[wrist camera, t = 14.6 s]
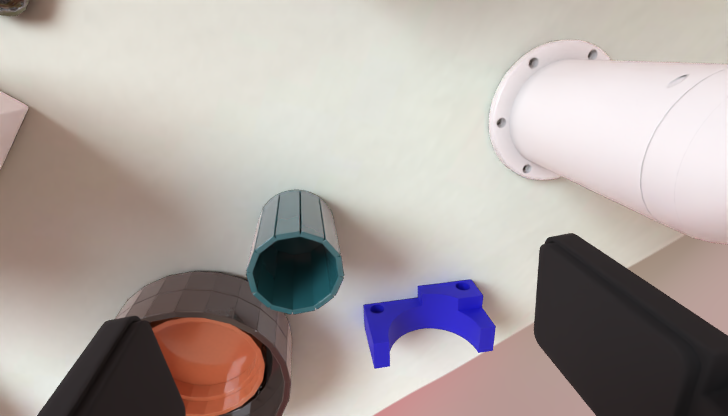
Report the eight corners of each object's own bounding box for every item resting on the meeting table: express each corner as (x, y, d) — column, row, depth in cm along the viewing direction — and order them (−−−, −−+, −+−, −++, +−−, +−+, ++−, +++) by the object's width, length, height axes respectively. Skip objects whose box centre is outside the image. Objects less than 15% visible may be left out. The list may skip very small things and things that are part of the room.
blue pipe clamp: (471, 279, 42) (497, 313, 36) (468, 312, 44) (492, 350, 38) (362, 292, 40) (373, 331, 35) (364, 327, 42) (374, 368, 37)
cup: (327, 184, 35) (336, 224, 27) (337, 249, 38) (348, 304, 30) (251, 196, 34) (237, 241, 26) (267, 261, 37) (258, 321, 29)
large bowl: (273, 255, 37) (269, 294, 31) (303, 384, 44) (304, 437, 38) (86, 287, 35) (43, 335, 29) (147, 417, 42) (123, 477, 36)
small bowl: (253, 281, 38) (248, 306, 34) (277, 373, 43) (275, 403, 39) (124, 304, 36) (104, 332, 33) (164, 396, 41) (151, 429, 38)
